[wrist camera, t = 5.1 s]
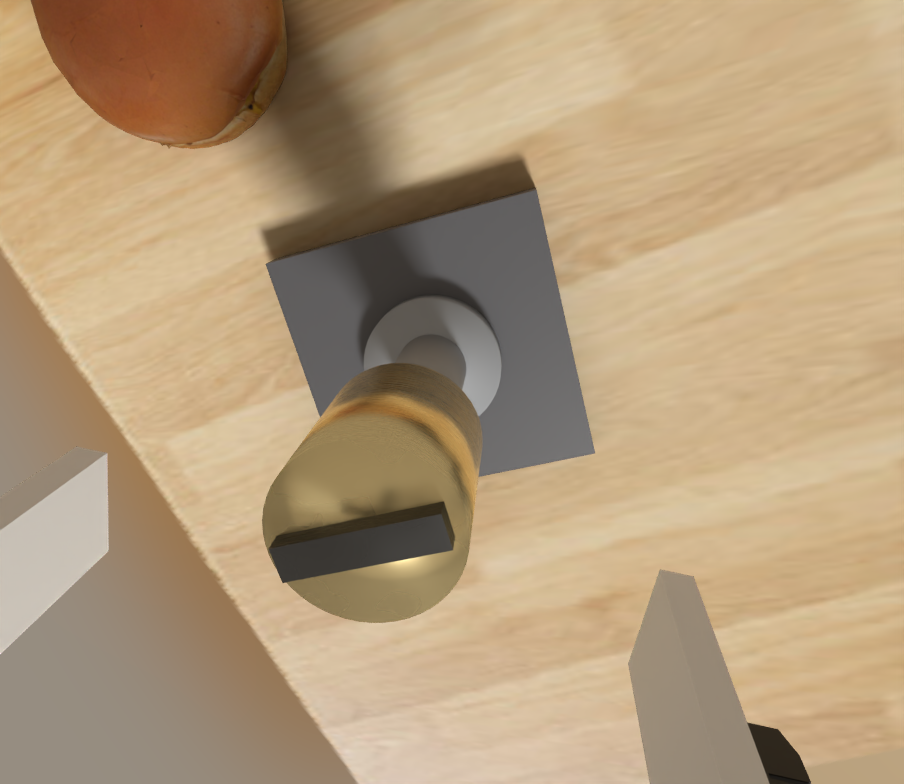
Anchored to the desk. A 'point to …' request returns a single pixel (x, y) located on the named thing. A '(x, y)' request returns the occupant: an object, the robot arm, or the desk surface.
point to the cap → (379, 497)
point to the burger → (170, 63)
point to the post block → (448, 321)
